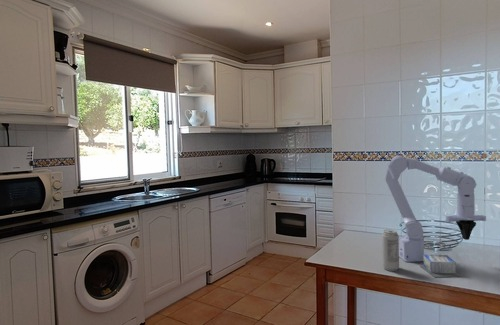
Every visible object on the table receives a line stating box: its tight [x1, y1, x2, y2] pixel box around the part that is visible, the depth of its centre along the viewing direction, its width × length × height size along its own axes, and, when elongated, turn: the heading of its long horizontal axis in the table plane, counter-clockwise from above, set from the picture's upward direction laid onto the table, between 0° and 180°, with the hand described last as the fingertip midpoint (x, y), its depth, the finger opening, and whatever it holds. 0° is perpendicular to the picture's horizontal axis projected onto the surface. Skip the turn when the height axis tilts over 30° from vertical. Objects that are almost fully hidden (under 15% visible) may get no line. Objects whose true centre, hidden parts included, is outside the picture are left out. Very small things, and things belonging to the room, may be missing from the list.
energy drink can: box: [381, 229, 400, 272], centre depth 127 cm, size 6×6×15 cm
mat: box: [419, 264, 461, 279], centre depth 123 cm, size 9×11×1 cm
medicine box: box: [423, 254, 456, 273], centre depth 124 cm, size 8×4×9 cm
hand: (465, 238), depth 129 cm, fingers closed
